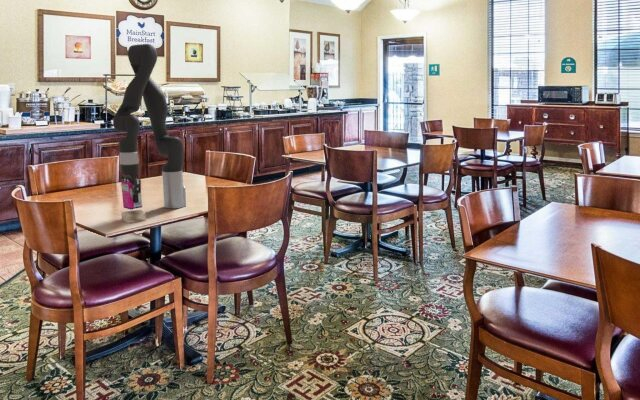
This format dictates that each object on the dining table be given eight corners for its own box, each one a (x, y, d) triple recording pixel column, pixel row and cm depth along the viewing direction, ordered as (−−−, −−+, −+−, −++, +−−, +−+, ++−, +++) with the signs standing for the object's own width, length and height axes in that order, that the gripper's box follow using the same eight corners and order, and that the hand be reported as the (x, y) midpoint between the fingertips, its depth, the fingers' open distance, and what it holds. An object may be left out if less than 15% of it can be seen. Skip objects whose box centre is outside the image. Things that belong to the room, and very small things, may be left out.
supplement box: (134, 205, 235) (133, 179, 233) (142, 207, 232) (140, 181, 229) (122, 207, 231) (120, 181, 228) (130, 209, 227) (128, 182, 225)
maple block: (140, 217, 238) (140, 209, 237) (146, 221, 231) (145, 213, 231) (122, 219, 234) (121, 212, 233) (126, 223, 227) (126, 215, 226)
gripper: (145, 163, 225) (148, 202, 228) (130, 160, 235) (133, 197, 238) (128, 165, 220) (131, 205, 223) (113, 161, 230) (116, 200, 233)
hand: (132, 201), depth 231 cm, fingers closed on supplement box, 6 cm apart
